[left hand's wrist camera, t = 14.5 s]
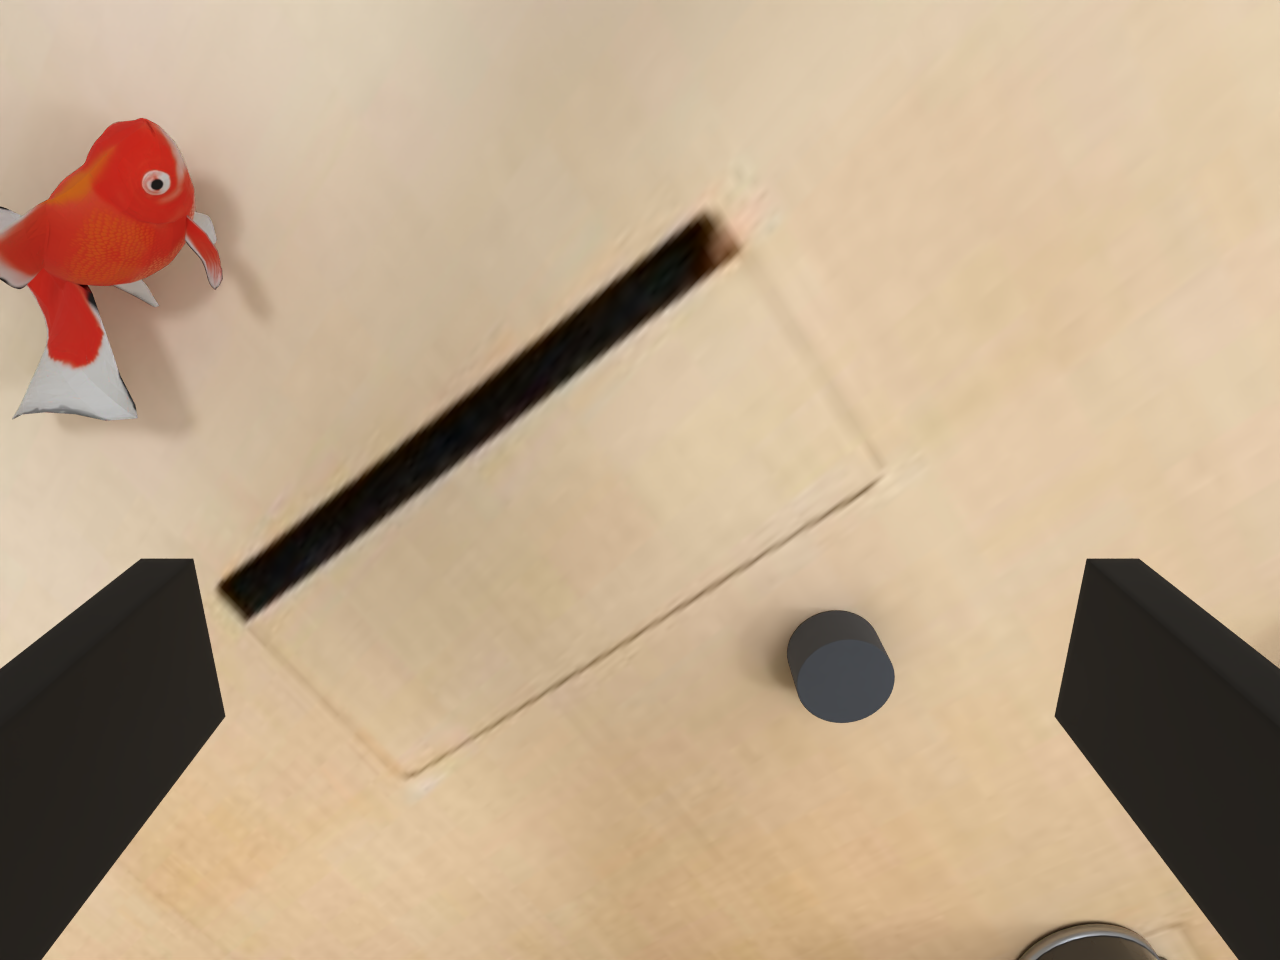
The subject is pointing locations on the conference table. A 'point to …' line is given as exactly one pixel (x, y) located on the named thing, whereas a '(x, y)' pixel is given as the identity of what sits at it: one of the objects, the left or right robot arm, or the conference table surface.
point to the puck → (840, 667)
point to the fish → (101, 260)
